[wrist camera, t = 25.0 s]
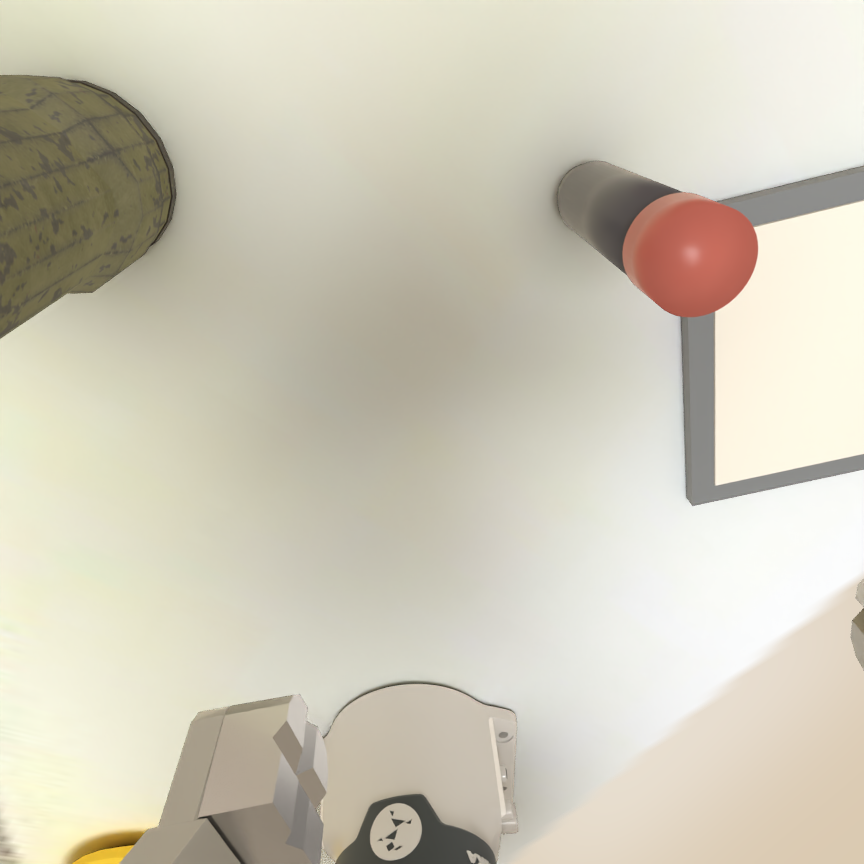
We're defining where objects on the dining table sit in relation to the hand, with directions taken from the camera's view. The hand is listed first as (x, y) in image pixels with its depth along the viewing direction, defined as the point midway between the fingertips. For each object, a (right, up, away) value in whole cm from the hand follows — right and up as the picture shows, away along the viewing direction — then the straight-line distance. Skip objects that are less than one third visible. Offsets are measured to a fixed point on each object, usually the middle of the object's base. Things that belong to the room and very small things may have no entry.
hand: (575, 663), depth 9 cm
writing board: (+21, +9, +30) cm, 38 cm away
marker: (+6, +16, +25) cm, 30 cm away
